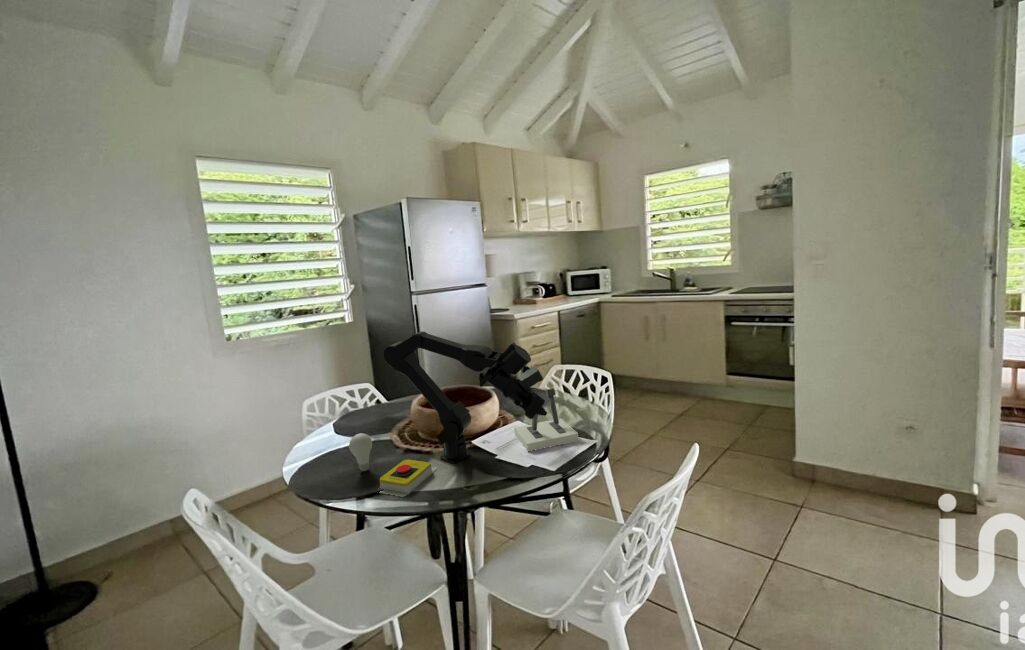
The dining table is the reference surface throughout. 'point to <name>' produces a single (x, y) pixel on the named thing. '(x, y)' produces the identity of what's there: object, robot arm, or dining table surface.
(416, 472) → the emergency button
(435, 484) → the dining table surface
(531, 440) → the breaker panel
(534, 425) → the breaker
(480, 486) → the dining table surface
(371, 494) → the dining table surface
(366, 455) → the lightbulb
